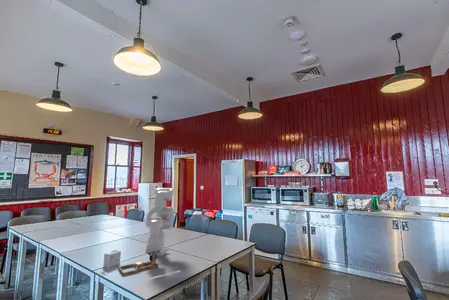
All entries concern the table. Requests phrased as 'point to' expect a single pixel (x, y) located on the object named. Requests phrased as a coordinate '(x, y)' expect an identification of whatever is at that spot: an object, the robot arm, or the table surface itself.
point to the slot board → (139, 269)
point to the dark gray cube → (145, 263)
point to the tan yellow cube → (138, 265)
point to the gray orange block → (153, 258)
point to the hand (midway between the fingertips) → (153, 260)
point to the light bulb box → (112, 258)
